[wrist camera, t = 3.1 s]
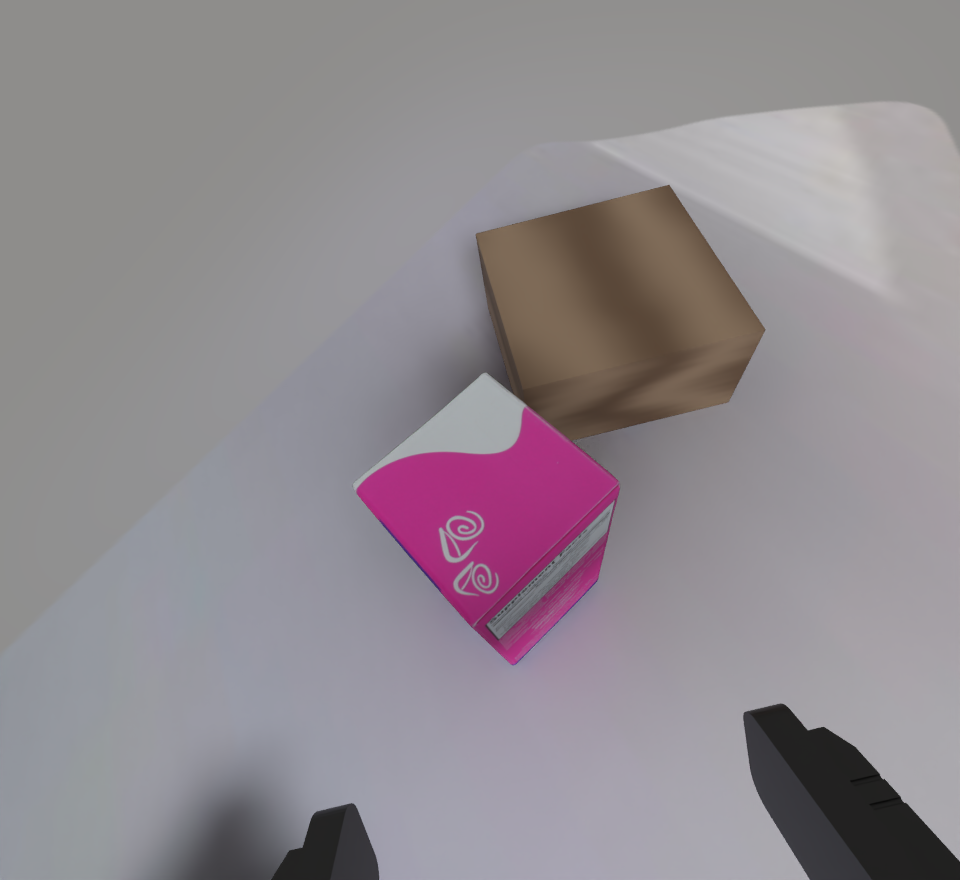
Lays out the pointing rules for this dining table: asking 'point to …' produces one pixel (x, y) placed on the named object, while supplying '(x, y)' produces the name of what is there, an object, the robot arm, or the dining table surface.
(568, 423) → the walnut block
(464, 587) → the supplement box
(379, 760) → the dining table surface
